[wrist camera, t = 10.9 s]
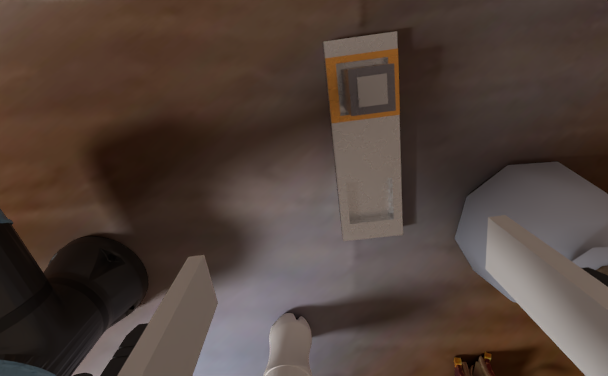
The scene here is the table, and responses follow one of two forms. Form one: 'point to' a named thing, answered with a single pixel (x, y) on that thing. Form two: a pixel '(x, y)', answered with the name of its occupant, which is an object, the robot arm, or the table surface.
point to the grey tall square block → (369, 89)
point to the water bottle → (289, 347)
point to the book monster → (481, 370)
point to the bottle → (539, 214)
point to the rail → (365, 143)
